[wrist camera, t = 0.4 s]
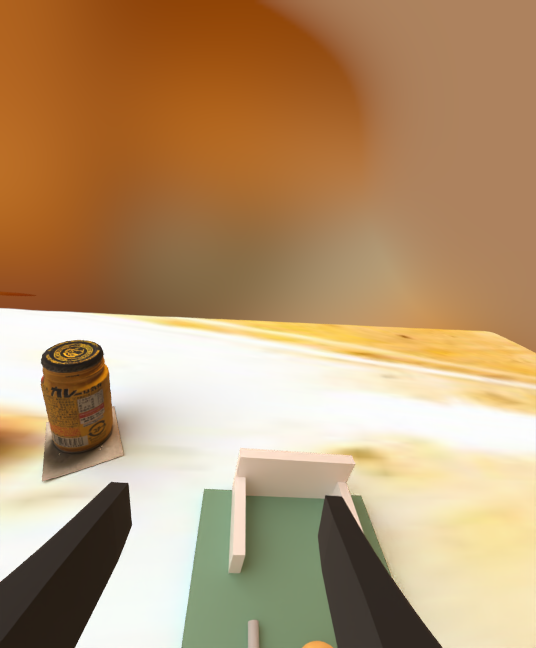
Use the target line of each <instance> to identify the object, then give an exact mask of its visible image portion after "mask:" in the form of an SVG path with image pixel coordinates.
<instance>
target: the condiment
mask: <svg viewBox="0 0 536 648" xmlns="http://www.w3.org/2000/svg"><path fill="white" fill-rule="evenodd" d="M103 355H104V354H103V350H102V348H101V346H100V345H98V344H96V343H95V342H91V341H84V340H74V341H66V342H63V343H59V344H57V345H54V346H53V347H51V348H49V349H47V350H46V351H45V353H43V355H42V359H41V364H42V366H43V374H44V375H43V377H42V379H41V388H42V391H43V397H44V400H45V405H46V411H47V414H48V419H49V422H46V437H45V449H44V450H45V451H44V464H43V474H42V481H45V480H48V479H51V478H56V477H59V476H63V475H66V474H69V473H72V472H76V471H79V470H82V469H84V468H87V467H92V466H94V465H96V464H99V463H102V462H105V461H108V460H111V459H113V458H116V457H119V456H122V455H123V449H122V444H121V440H120V434H119V429H118V424H117V419H116V413H115V408H114V406H113V407H112V403H111V392H110V381H109V371H108V367H107V366H106V365H105V364H104V362H105V361H104V358H103ZM102 445H103V447H101V446H102ZM100 448H101V450H99V449H100Z"/></svg>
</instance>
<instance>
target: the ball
mask: <svg viewBox="0 0 536 648" xmlns="http://www.w3.org/2000/svg"><path fill="white" fill-rule="evenodd" d="M302 648H333V647H332V646H331V645H329V644H327V643H325V642H322V641H312V642H309V643H307V644H306V645H304V646H303V647H302Z"/></svg>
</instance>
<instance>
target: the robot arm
mask: <svg viewBox="0 0 536 648" xmlns="http://www.w3.org/2000/svg"><path fill="white" fill-rule="evenodd" d="M131 526H132V521H131V509H130V497H129V485H128V483H118V482H111V483H110V484H108V485H107V486H106V487H105V488H104V489H103V490H102V491H101V492H100V493H99V494H98V495H97V496H96V497H95V498H94V499H93V500H92V501H90V502H89V503H88V504H87V505H86V506H85V507H84V508H83V509H82V510H81V511H80V512H79V513H78V514H77V515H76V516H75V517H74V518H72V519H71V520H70V521H69V522H68V523H67V524H66V525H65V526H64V527H63V528H62V529H60V530H59V531H58V532H57V533H56V534H55V535H54V536H53V537H52V538H51V539H49V540H48V541H47V542H46V543H45V544H44V545H43V546H42V547H41V548H39V549H38V550H37V551H36V552H35V553H34V554H33V555H31V556H30V557H29V558H28V559H27V560H26V561H24V562H23V563H22V564H21V565H20V566H19V567H17V568H16V569H15V570H14V571H13V572H12V573H10V574H9V575H8V576H7V577H6V578H5V579H3V580H2V581H1V582H0V648H75V646H76V644H77V642H78V640H79V638H80V636H81V634H82V632H83V630H84V628H85V626H86V624H87V622H88V620H89V618H90V616H91V614H92V612H93V610H94V608H95V606H96V604H97V602H98V600H99V598H100V596H101V594H102V592H103V590H104V588H105V586H106V584H107V582H108V580H109V578H110V576H111V574H112V572H113V570H114V568H115V566H116V564H117V562H118V560H119V557H120V555H121V552H122V550H123V547H124V545H125V542H126V540H127V537H128V534H129V532H130V529H131ZM318 543H319V552H320V560H321V568H322V575H323V580H324V585H325V590H326V595H327V600H328V605H329V609H330V614H331V619H332V624H333V629H334V633H335V638H336V643H337V648H442V646H441V645H440V644H439V642H438V641H437V640H436V638H435V637H434V636H433V635H432V633H431V632H430V631H429V629H428V628H427V627H426V625H425V624H424V623H423V621H422V620H421V619H420V617H419V616H418V614H417V613H416V612H415V610H414V609H413V608H412V606H411V605H410V603H409V602H408V601H407V599H406V598H405V596H404V595H403V593H402V592H401V590H400V589H399V588H398V586H397V585H396V583H395V582H394V580H393V579H392V577H391V576H390V574H389V573H388V571H387V570H386V568H385V567H384V565H383V564H382V562H381V560H380V559H379V557H378V556H377V554H376V553H375V551H374V549H373V548H372V546H371V545H370V543H369V541H368V540H367V538H366V537H365V535H364V533H363V531H362V530H361V528H360V526H359V525H358V523H357V521H356V520H355V518H354V516H353V514H352V513H351V511H350V509H349V507H348V506H347V504H346V502H345V500H344V498H343V497H342V496H330V495H325V499H324V504H323V510H322V515H321V521H320V526H319V532H318Z"/></svg>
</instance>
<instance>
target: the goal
mask: <svg viewBox="0 0 536 648" xmlns="http://www.w3.org/2000/svg"><path fill="white" fill-rule="evenodd" d="M354 466H355V462H354V460H353V457H352V456H350V455H335V454H320V453H305V452H290V451H275V450H260V449H245V448H240V452H239V457H238V461H237V466H236V471H235V476H234V481H233V486H232V507H231V528H230V549H229V570H228V573H240V572H241V568H242V565H243V561H244V558H245V508H246V496H271V497H295V498H320V499H325V495H330V496H342V497H343V498H344V500H345V502H346V504H347V506H348V507H349V509H350V511H351V513H352V514H353V516H354V518H355V520H356V521H357V523H358V525H359V526H360V528H361V530H362V527H361V524H360V521H359V518H358V515H357V512H356V509H355V506H354V504H353V501H352V498H351V495H350V492H349V489H348V486H347V483H346V482H347V480H348V478H349V476H350V474H351V472H352V470H353V468H354ZM362 531H363V530H362Z"/></svg>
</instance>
